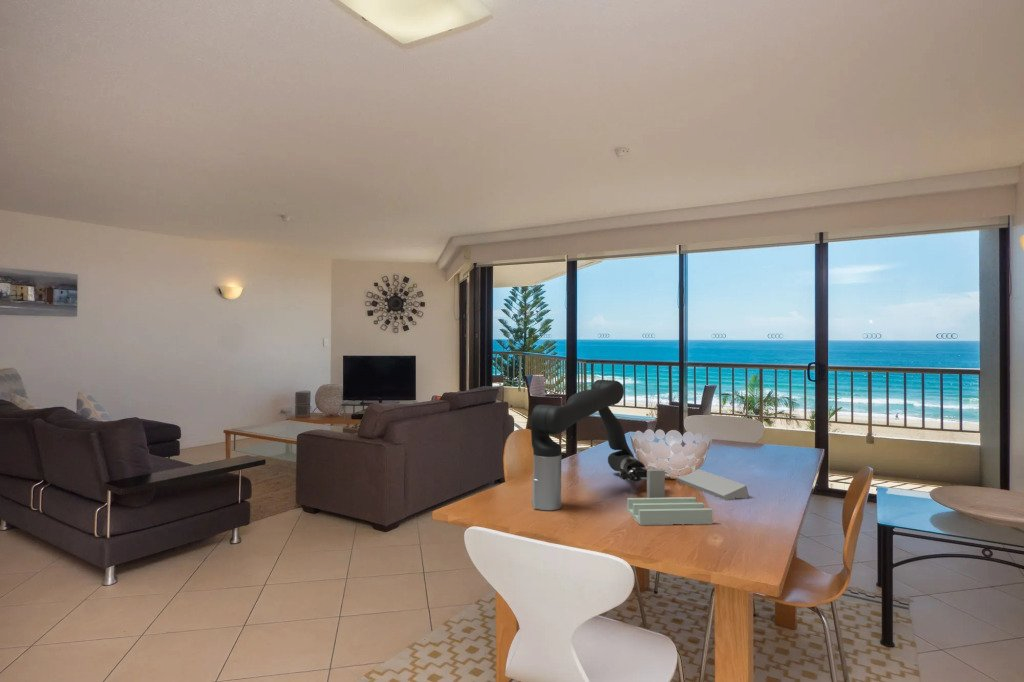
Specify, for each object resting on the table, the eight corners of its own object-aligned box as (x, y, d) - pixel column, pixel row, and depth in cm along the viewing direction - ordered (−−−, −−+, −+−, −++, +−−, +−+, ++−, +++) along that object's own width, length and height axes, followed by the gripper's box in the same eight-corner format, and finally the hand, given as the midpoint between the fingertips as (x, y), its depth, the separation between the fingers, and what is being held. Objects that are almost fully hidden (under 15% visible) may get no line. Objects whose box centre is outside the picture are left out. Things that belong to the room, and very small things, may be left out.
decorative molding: (726, 508, 190) (749, 498, 193) (723, 495, 190) (746, 485, 193) (668, 484, 223) (688, 476, 226) (665, 473, 222) (686, 464, 225)
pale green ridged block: (640, 525, 164) (640, 511, 164) (627, 511, 177) (627, 497, 177) (712, 524, 165) (712, 510, 165) (693, 510, 179) (694, 497, 179)
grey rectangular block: (649, 507, 182) (649, 470, 182) (646, 504, 185) (646, 468, 185) (664, 507, 182) (664, 470, 182) (661, 504, 185) (661, 468, 185)
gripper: (614, 458, 209) (626, 468, 193) (651, 458, 210) (666, 467, 194) (614, 478, 209) (626, 489, 193) (651, 478, 210) (666, 489, 194)
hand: (646, 478), depth 193 cm, fingers open, 8 cm apart
